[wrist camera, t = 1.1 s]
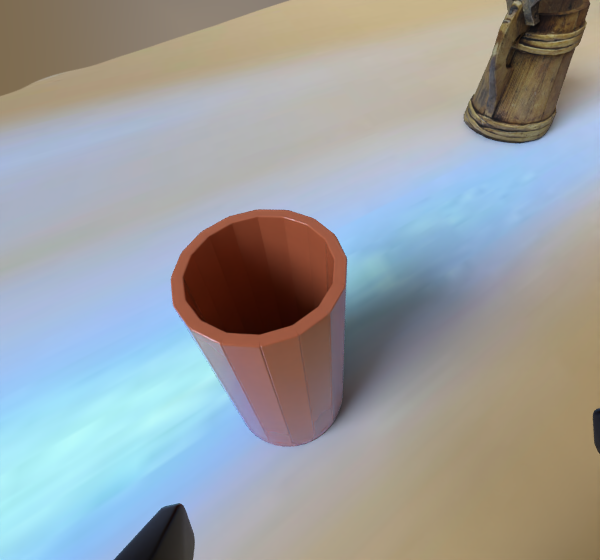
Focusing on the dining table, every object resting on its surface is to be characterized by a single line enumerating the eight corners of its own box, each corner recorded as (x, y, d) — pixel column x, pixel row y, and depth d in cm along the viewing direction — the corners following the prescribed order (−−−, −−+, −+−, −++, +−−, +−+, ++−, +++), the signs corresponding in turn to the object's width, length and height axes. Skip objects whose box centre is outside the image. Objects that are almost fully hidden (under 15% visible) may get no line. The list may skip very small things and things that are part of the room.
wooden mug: (417, 133, 41) (458, -94, 27) (499, 93, 45) (572, -123, 31) (483, 171, 37) (574, -82, 22) (568, 122, 40) (692, -119, 26)
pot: (311, 469, 21) (290, 379, 12) (217, 413, 24) (133, 301, 14) (359, 369, 25) (374, 237, 15) (272, 330, 27) (237, 193, 17)
